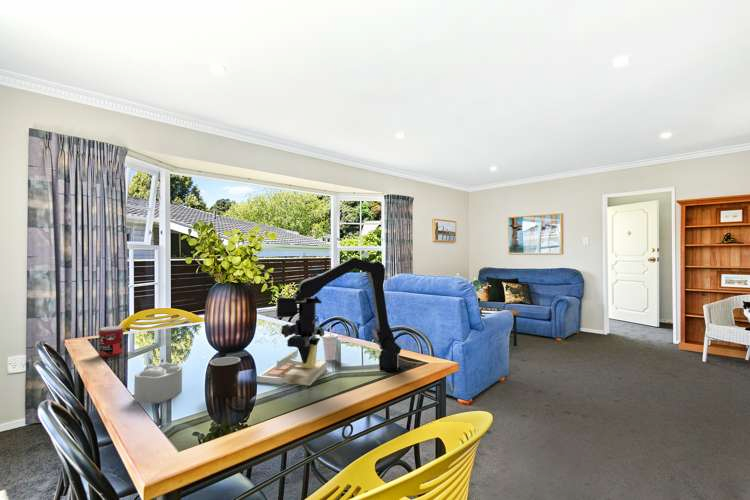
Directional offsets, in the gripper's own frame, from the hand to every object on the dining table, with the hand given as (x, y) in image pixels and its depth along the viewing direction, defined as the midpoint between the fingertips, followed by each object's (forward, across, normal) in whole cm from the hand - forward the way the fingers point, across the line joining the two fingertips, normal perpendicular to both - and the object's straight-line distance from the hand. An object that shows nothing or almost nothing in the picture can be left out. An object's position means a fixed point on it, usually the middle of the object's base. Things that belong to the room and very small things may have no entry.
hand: (306, 361), depth 126 cm
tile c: (+3, +5, -9) cm, 11 cm away
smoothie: (+5, -20, +2) cm, 21 cm away
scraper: (+1, 0, -2) cm, 3 cm away
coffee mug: (+5, +19, -18) cm, 26 cm away
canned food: (+5, -6, -88) cm, 89 cm away
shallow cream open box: (+5, 0, 0) cm, 5 cm away
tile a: (+3, -5, -9) cm, 11 cm away
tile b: (+3, 0, -9) cm, 9 cm away
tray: (+5, 0, -9) cm, 10 cm away
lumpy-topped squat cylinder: (+6, +24, -36) cm, 44 cm away
